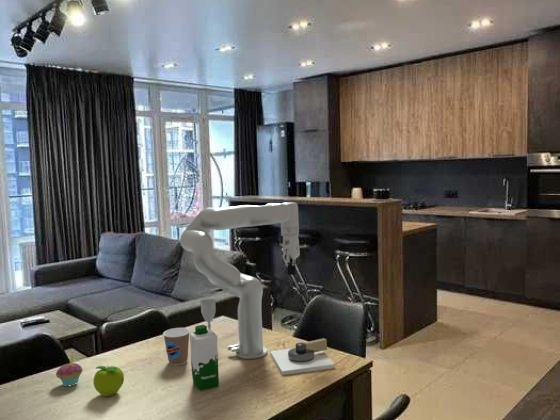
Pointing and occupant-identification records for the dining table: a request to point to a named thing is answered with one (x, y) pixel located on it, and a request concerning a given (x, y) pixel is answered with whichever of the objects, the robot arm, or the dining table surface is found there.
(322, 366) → the base plate
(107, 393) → the fruit
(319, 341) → the cam dial
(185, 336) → the coffee cup
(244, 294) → the robot arm
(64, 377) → the cupcake
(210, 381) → the milk carton
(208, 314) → the chalice
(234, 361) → the dining table surface
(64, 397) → the dining table surface
